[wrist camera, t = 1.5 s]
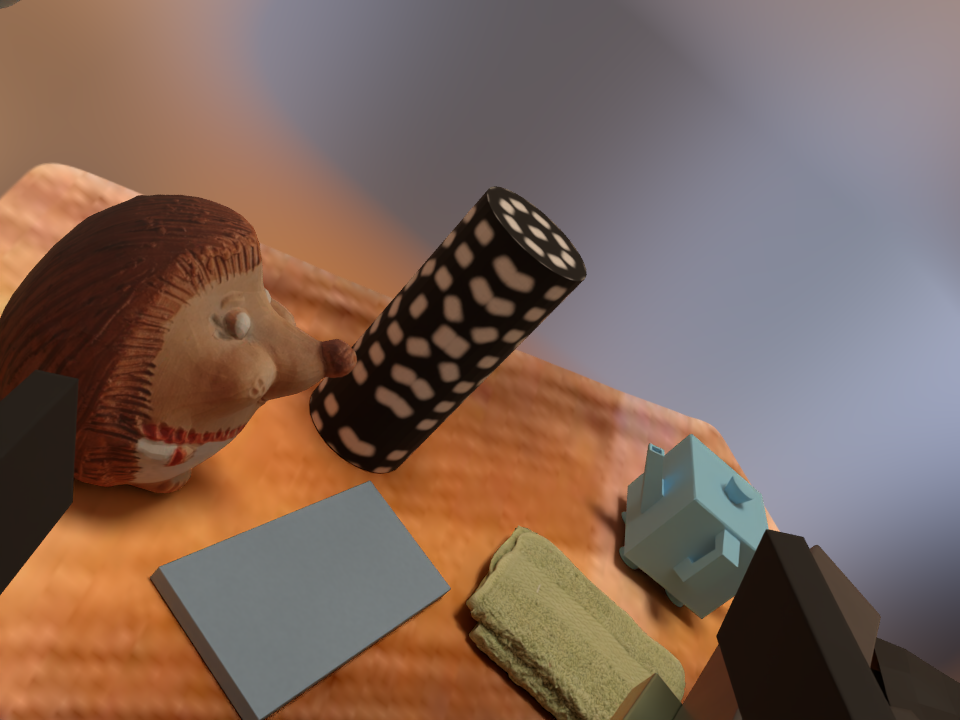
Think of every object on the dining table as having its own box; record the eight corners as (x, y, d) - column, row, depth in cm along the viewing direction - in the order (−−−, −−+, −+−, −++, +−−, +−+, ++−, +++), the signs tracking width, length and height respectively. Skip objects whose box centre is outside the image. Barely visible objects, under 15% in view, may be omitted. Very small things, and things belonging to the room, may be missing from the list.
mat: (248, 730, 42) (259, 720, 42) (149, 577, 44) (158, 566, 44) (442, 596, 58) (451, 588, 57) (361, 488, 60) (370, 480, 59)
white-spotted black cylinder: (378, 388, 70) (545, 205, 61) (420, 474, 66) (606, 291, 57) (293, 377, 63) (466, 172, 55) (335, 472, 59) (529, 266, 51)
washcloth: (504, 527, 68) (531, 503, 67) (667, 689, 68) (698, 668, 66) (444, 624, 56) (476, 597, 55) (642, 820, 56) (679, 798, 54)
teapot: (589, 457, 86) (673, 384, 81) (721, 568, 89) (810, 503, 84) (576, 557, 72) (676, 476, 67) (733, 686, 74) (841, 616, 70)
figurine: (198, 592, 46) (364, 411, 39) (-99, 430, 41) (33, 194, 34) (268, 428, 58) (403, 270, 51) (46, 288, 53) (163, 95, 47)
